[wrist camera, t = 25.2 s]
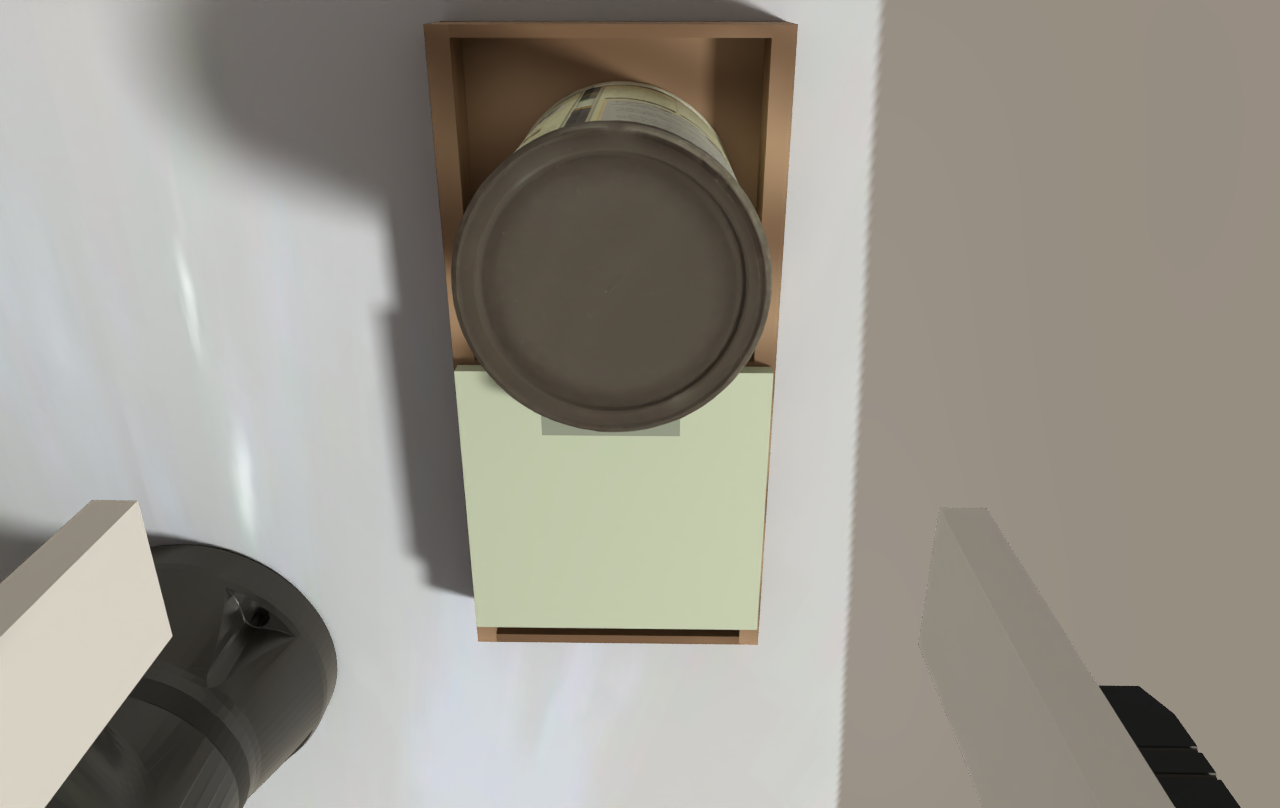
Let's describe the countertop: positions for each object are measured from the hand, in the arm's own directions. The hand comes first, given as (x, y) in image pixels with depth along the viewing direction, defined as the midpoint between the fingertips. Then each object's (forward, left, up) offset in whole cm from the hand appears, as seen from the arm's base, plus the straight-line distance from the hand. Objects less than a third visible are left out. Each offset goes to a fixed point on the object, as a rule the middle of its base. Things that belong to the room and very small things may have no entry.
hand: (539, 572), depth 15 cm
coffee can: (0, 0, -30) cm, 30 cm away
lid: (-14, 0, -27) cm, 31 cm away
